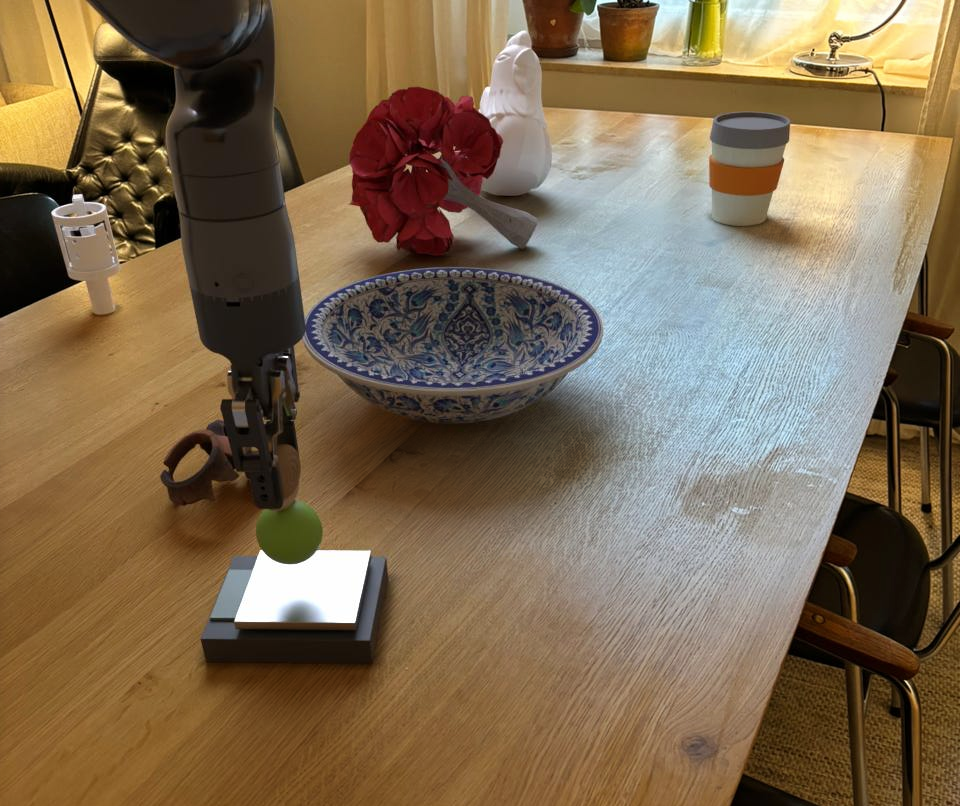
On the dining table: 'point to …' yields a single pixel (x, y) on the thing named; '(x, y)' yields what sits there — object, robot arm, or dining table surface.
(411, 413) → the ceramic bowl
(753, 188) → the reusable coffee cup
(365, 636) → the scale
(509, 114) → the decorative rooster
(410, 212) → the bouquet
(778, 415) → the dining table surface
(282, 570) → the scale platter
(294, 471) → the snail figurine
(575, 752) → the dining table surface
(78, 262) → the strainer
